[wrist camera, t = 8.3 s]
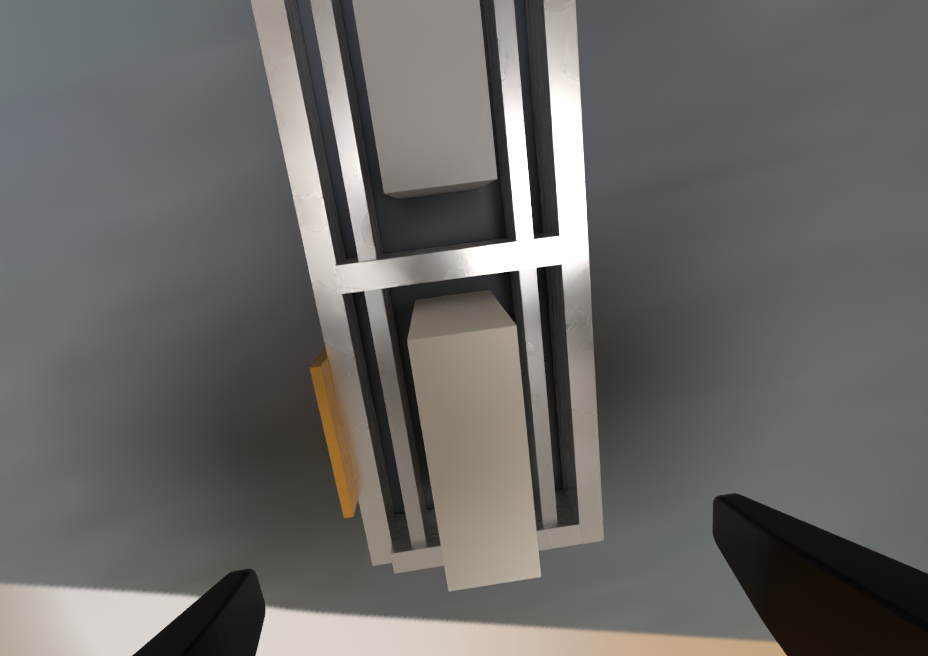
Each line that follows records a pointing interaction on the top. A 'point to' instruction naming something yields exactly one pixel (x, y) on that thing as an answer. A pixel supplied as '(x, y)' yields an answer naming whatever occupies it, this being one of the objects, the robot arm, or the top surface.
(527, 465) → the white panel
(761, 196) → the top surface
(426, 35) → the grey filler panel
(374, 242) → the rack
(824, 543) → the robot arm
